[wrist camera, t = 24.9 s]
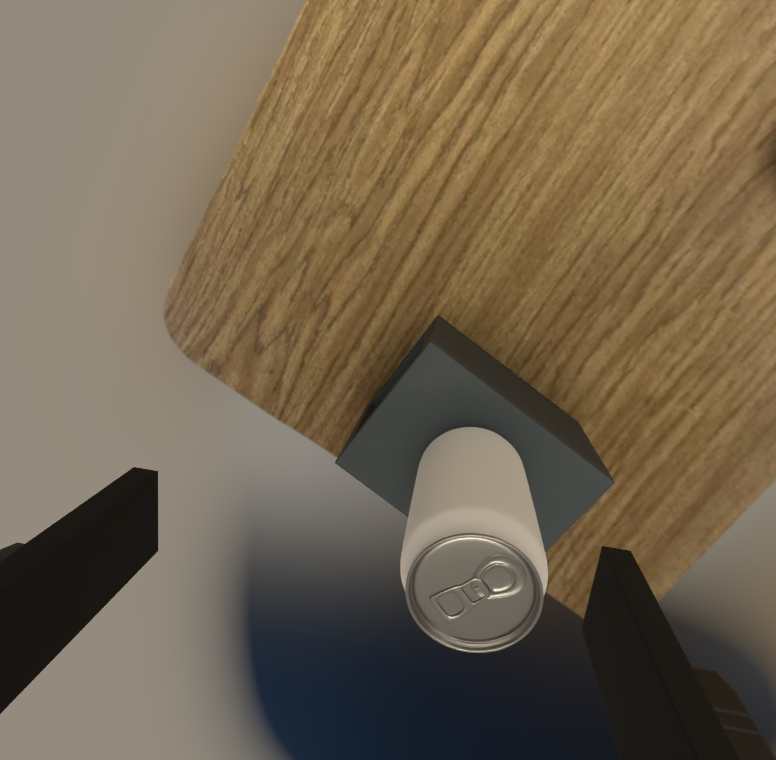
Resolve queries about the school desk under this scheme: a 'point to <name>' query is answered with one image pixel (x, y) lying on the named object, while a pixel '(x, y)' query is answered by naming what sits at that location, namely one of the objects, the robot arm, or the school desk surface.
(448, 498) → the can
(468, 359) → the shelf
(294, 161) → the school desk surface
